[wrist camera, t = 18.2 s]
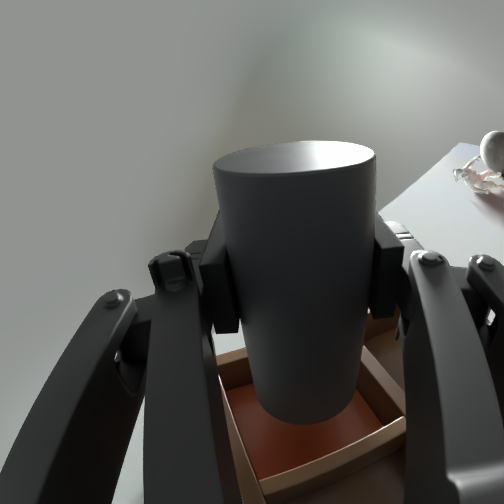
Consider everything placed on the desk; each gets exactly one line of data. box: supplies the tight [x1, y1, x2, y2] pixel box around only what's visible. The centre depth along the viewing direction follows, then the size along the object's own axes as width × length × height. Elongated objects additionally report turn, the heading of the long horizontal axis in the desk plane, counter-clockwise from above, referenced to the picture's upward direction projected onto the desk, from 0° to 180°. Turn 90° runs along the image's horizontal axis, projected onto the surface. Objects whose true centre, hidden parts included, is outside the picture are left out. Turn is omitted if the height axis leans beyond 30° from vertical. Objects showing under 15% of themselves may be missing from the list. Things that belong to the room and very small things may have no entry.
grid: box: [216, 303, 406, 504], centre depth 12 cm, size 16×16×3 cm
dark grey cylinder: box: [213, 141, 376, 425], centre depth 11 cm, size 5×5×10 cm
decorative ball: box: [481, 131, 504, 173], centre depth 51 cm, size 10×10×10 cm
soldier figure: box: [453, 156, 504, 195], centre depth 43 cm, size 8×5×12 cm
